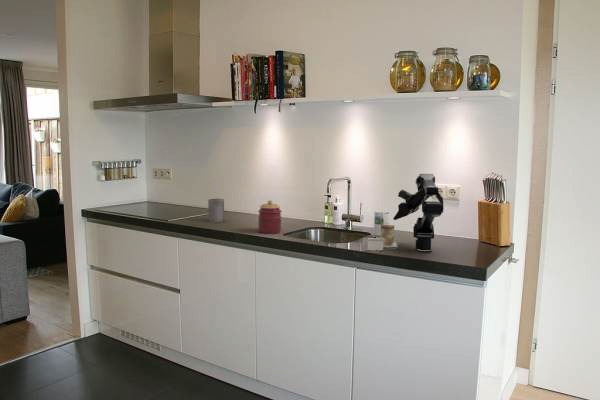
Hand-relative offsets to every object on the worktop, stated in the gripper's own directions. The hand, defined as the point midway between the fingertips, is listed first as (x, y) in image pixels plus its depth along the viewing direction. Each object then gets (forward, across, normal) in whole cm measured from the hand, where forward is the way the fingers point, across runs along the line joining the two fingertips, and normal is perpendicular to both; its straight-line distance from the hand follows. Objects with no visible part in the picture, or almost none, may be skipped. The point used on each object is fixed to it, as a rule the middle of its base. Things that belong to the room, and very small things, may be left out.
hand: (396, 218), depth 225 cm
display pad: (+12, +4, +7) cm, 14 cm away
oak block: (+11, +4, +7) cm, 13 cm away
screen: (+13, +17, +6) cm, 22 cm away
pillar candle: (+93, -9, -74) cm, 119 cm away
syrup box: (+18, -14, +1) cm, 23 cm away
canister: (+60, +3, -40) cm, 72 cm away
